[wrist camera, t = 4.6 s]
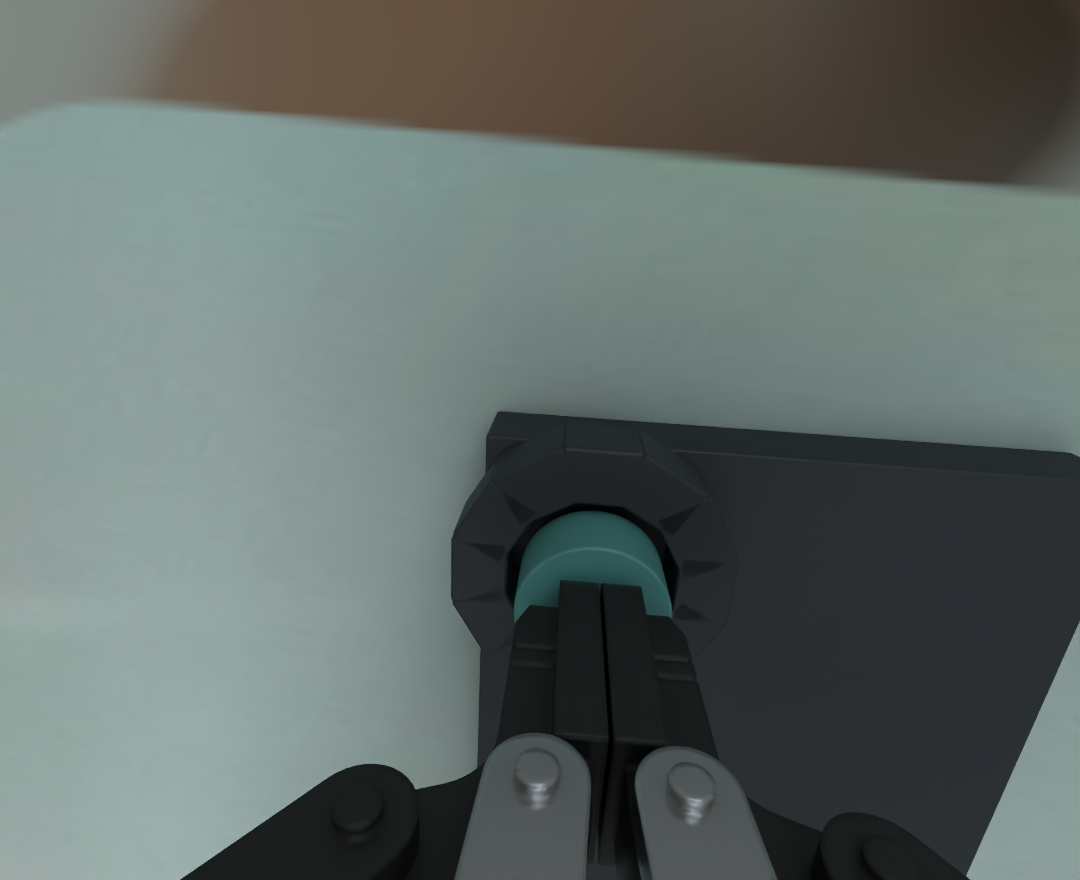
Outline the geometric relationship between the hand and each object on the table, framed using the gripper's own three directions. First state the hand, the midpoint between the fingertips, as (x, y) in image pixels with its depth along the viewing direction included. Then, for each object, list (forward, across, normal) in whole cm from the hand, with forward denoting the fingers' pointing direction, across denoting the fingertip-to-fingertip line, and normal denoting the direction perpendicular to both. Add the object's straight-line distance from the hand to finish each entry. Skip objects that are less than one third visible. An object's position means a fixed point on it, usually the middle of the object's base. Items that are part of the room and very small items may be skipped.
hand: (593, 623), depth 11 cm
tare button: (+2, 0, 0) cm, 2 cm away
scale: (+5, -4, +4) cm, 8 cm away
